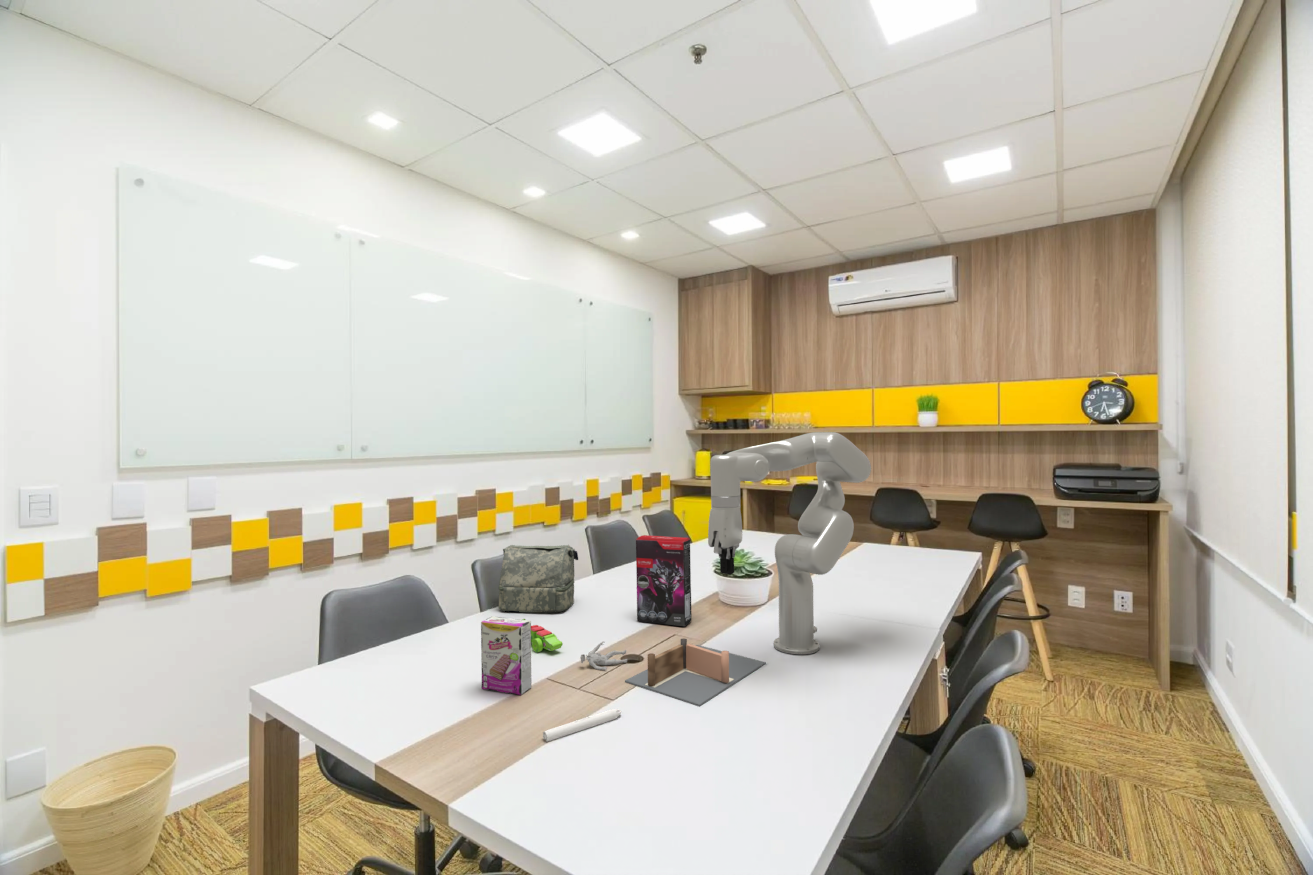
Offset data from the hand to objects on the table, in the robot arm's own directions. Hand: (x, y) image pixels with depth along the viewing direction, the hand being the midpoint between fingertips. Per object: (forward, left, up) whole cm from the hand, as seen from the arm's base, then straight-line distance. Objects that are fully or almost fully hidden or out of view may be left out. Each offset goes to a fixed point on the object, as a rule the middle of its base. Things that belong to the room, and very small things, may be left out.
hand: (727, 573), depth 156 cm
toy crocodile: (+19, -52, -25) cm, 60 cm away
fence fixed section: (+15, -8, -24) cm, 29 cm away
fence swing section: (+9, 0, -24) cm, 25 cm away
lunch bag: (-7, -82, -25) cm, 86 cm away
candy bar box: (+43, -35, -25) cm, 61 cm away
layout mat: (+8, -4, -24) cm, 26 cm away
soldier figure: (+18, -27, -25) cm, 41 cm away
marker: (+45, -7, -25) cm, 52 cm away
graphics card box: (-20, -36, -25) cm, 48 cm away
